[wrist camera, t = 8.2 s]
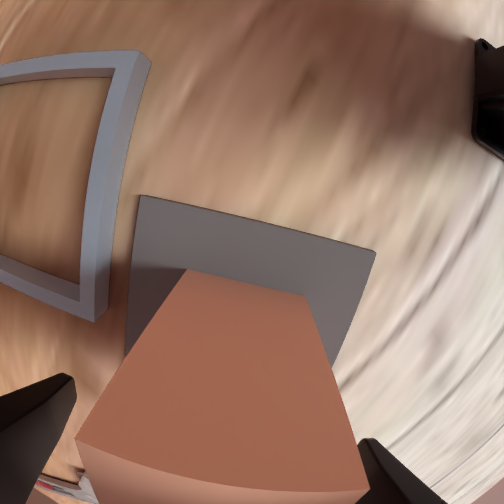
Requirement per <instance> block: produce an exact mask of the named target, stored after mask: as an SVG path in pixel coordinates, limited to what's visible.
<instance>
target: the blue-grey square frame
mask: <svg viewBox="0 0 504 504" xmlns="http://www.w3.org/2000/svg"><path fill="white" fill-rule="evenodd" d="M151 63H152V62H151V61H150V60H149V59H148V58H147V57H146V56H145V55H144V54H143V53H142V52H141V51H139V50H115V51H91V52H78V53H68V54H59V55H51V56H44V57H38V58H32V59H26V60H21V61H16V62H12V63H7V64H3V65H0V85H2V84H8V83H15V82H23V81H31V80H41V79H53V78H71V77H113V79H112V82H111V85H110V88H109V92H108V95H107V99H106V102H105V106H104V110H103V113H102V117H101V121H100V126H99V130H98V134H97V139H96V143H95V148H94V153H93V158H92V164H91V169H90V175H89V181H88V188H87V195H86V202H85V211H84V220H83V230H82V243H81V260H80V285H78V284H75V283H73V282H70V281H67V280H64V279H62V278H59V277H56V276H53V275H51V274H48V273H46V272H43V271H40V270H38V269H35V268H33V267H30V266H28V265H25V264H23V263H20V262H18V261H15V260H13V259H11V258H8V257H6V256H4V255H1V254H0V282H1V283H3V284H5V285H7V286H9V287H11V288H13V289H15V290H17V291H19V292H21V293H24V294H26V295H28V296H30V297H32V298H34V299H37V300H39V301H41V302H44V303H46V304H48V305H50V306H53V307H55V308H58V309H60V310H62V311H65V312H67V313H70V314H72V315H75V316H77V317H80V318H83V319H85V320H88V321H91V322H93V323H95V322H96V321H97V320H98V319H99V318H100V317H101V316H102V315H103V314H104V313H105V312H106V311H107V310H108V299H109V280H110V266H111V254H112V244H113V235H114V227H115V219H116V212H117V205H118V199H119V192H120V186H121V181H122V175H123V170H124V165H125V160H126V155H127V150H128V146H129V141H130V137H131V133H132V129H133V125H134V121H135V117H136V113H137V109H138V106H139V102H140V99H141V95H142V92H143V88H144V85H145V82H146V79H147V75H148V72H149V69H150V66H151Z"/></svg>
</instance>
